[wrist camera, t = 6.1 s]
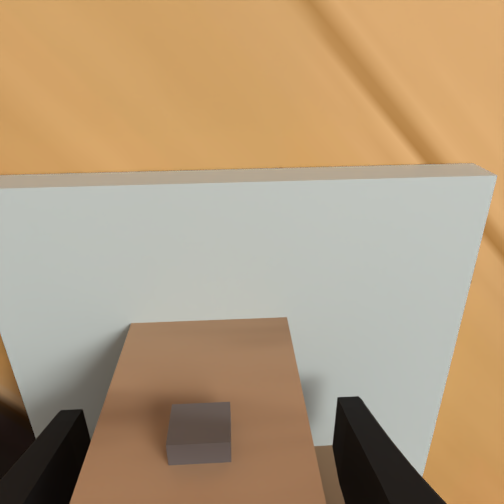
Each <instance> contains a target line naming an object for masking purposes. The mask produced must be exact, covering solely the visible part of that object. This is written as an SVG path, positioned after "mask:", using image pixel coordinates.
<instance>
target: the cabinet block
mask: <svg viewBox="0 0 504 504" xmlns="http://www.w3.org/2000/svg"><path fill="white" fill-rule="evenodd" d="M70 504H326V500H325V496H324V491H323V486H322V481H321V477H320V472H319V467H318V462H317V458H316V453H315V448H314V443H313V439H312V434H311V429H310V425H309V420H308V415H307V410H306V406H305V401H304V396H303V391H302V387H301V382H300V377H299V372H298V368H297V363H296V358H295V353H294V349H293V344H292V339H291V334H290V330H289V325H288V320H287V317H278V318H252V319H226V320H200V321H174V322H148V323H131V325H130V328H129V331H128V334H127V337H126V340H125V343H124V346H123V348H122V351H121V354H120V357H119V360H118V363H117V366H116V369H115V372H114V375H113V378H112V381H111V384H110V387H109V389H108V392H107V395H106V398H105V401H104V404H103V407H102V410H101V413H100V416H99V419H98V422H97V425H96V428H95V430H94V433H93V436H92V439H91V442H90V445H89V448H88V451H87V454H86V457H85V460H84V463H83V466H82V468H81V471H80V474H79V477H78V480H77V483H76V486H75V489H74V492H73V495H72V498H71V501H70Z"/></svg>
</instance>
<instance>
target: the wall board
mask: <svg viewBox="0 0 504 504" xmlns="http://www.w3.org/2000/svg"><path fill="white" fill-rule="evenodd" d="M496 179H497V175H495V174H493V173H491V172H489V171H487V170H485V169H484V168H482V167H480V166H478V165H476V164H474V163H464V164H424V165H385V166H345V167H305V168H266V169H226V170H186V171H147V172H107V173H67V174H28V175H0V334H1V337H2V340H3V343H4V346H5V349H6V352H7V355H8V358H9V361H10V363H11V366H12V369H13V372H14V375H15V378H16V381H17V384H18V387H19V390H20V393H21V396H22V399H23V402H24V405H25V408H26V411H27V414H28V417H29V420H30V423H31V426H32V429H33V432H34V435H35V438H37V437H38V436H39V435H40V433H41V432H42V431H43V430H44V429H45V428H46V426H47V425H48V424H49V423H50V422H51V420H52V419H53V418H54V417H55V416H56V415H57V413H58V412H59V411H60V410H73V409H83V412H84V416H85V420H86V424H87V427H88V431H89V435H90V439H92V436H93V433H94V430H95V428H96V425H97V422H98V419H99V416H100V413H101V410H102V407H103V404H104V401H105V398H106V395H107V392H108V389H109V387H110V384H111V381H112V378H113V375H114V372H115V369H116V366H117V363H118V360H119V357H120V354H121V351H122V348H123V346H124V343H125V340H126V337H127V334H128V331H129V328H130V325H131V323H148V322H174V321H200V320H226V319H252V318H278V317H287V320H288V325H289V330H290V334H291V339H292V344H293V349H294V353H295V358H296V363H297V368H298V372H299V377H300V382H301V387H302V391H303V396H304V401H305V406H306V410H307V415H308V420H309V425H310V429H311V434H312V439H313V443H314V448H315V453H316V458H317V462H318V467H319V472H320V477H321V481H322V486H323V491H324V496H325V500H326V504H345V502H344V498H343V495H342V491H341V488H340V485H339V480H338V475H337V470H336V464H335V459H334V453H333V448H332V445H333V435H334V426H335V416H336V406H337V397H354V396H359V397H360V398H361V399H362V400H363V402H364V403H365V405H366V406H367V408H368V409H369V410H370V412H371V413H372V415H373V416H374V417H375V419H376V420H377V422H378V423H379V424H380V426H381V427H382V428H383V430H384V431H385V432H386V434H387V435H388V436H389V438H390V439H391V440H392V441H393V443H394V444H395V445H396V446H397V448H398V449H399V450H400V451H401V453H402V454H403V455H404V456H405V457H406V459H407V460H408V461H409V462H410V464H411V465H412V466H413V467H414V468H415V469H416V471H417V472H418V473H419V474H420V475H421V476H423V472H424V468H425V464H426V460H427V456H428V452H429V448H430V444H431V440H432V436H433V432H434V428H435V424H436V420H437V416H438V412H439V408H440V404H441V400H442V396H443V392H444V388H445V384H446V380H447V376H448V372H449V368H450V364H451V360H452V356H453V352H454V348H455V344H456V340H457V336H458V332H459V328H460V324H461V320H462V316H463V312H464V308H465V304H466V299H467V295H468V291H469V287H470V283H471V279H472V275H473V271H474V267H475V263H476V259H477V255H478V251H479V247H480V243H481V239H482V235H483V231H484V227H485V223H486V219H487V215H488V211H489V207H490V203H491V199H492V195H493V191H494V187H495V183H496Z"/></svg>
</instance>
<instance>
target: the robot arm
mask: <svg viewBox="0 0 504 504" xmlns="http://www.w3.org/2000/svg"><path fill="white" fill-rule="evenodd" d="M90 442H91V439H90V435H89V431H88V427H87V424H86V420H85V416H84V412H83V409H73V410H60V411H59V412H58V413H57V415H56V416H55V417H54V418H53V419H52V420H51V422H50V423H49V424H48V425H47V426H46V428H45V429H44V430H43V431H42V432H41V433H40V435H39V436H38V437H37V438H36V439H35V441H34V442H33V443H32V444H31V445H30V446H29V448H28V449H27V450H26V451H25V452H24V453H23V455H22V456H21V457H20V458H19V459H18V460H17V461H16V463H15V464H14V465H13V466H12V467H11V468H10V469H9V470H8V472H7V473H6V474H5V475H4V476H3V477H2V478H1V479H0V504H70V501H71V498H72V495H73V492H74V489H75V486H76V483H77V480H78V477H79V474H80V471H81V468H82V466H83V463H84V460H85V457H86V454H87V451H88V448H89V445H90ZM332 448H333V453H334V459H335V464H336V470H337V475H338V480H339V485H340V488H341V491H342V495H343V498H344V502H345V504H446V503H445V502H444V500H443V499H442V498H441V497H440V496H439V495H438V494H437V493H436V492H435V491H434V490H433V489H432V488H431V486H430V485H429V484H428V483H427V482H426V481H425V480H424V479H423V478H422V476H421V475H420V474H419V473H418V472H417V471H416V469H415V468H414V467H413V466H412V465H411V464H410V462H409V461H408V460H407V459H406V457H405V456H404V455H403V454H402V453H401V451H400V450H399V449H398V448H397V446H396V445H395V444H394V443H393V441H392V440H391V439H390V438H389V436H388V435H387V434H386V432H385V431H384V430H383V428H382V427H381V426H380V424H379V423H378V422H377V420H376V419H375V417H374V416H373V415H372V413H371V412H370V410H369V409H368V408H367V406H366V405H365V403H364V402H363V400H362V399H361V398H360V397H359V396H354V397H337V406H336V416H335V426H334V435H333V445H332Z"/></svg>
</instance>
